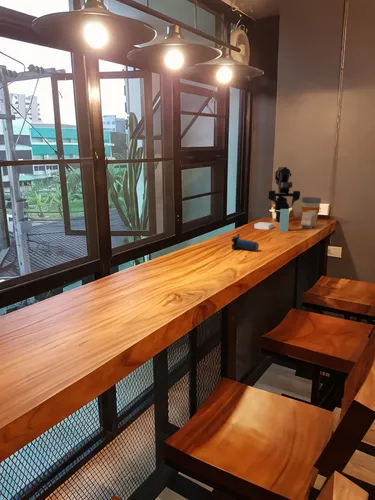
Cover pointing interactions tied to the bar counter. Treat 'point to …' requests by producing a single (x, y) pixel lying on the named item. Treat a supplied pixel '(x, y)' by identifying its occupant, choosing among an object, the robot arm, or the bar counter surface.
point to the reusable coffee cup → (311, 204)
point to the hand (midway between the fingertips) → (284, 205)
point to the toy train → (309, 219)
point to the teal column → (284, 219)
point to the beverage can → (244, 244)
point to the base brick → (264, 225)
